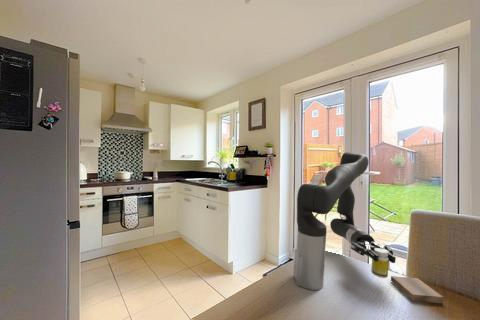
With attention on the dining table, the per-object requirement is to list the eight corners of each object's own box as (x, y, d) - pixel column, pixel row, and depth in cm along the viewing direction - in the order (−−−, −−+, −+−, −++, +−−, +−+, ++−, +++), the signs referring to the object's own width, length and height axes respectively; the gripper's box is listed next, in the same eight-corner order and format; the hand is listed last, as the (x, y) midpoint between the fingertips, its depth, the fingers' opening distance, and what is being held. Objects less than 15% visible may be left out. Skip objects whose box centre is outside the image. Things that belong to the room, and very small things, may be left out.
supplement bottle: (390, 279, 70) (392, 254, 70) (374, 277, 71) (376, 252, 71) (383, 272, 75) (385, 248, 74) (368, 269, 76) (370, 246, 75)
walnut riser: (412, 300, 65) (412, 294, 65) (390, 281, 75) (391, 276, 75) (442, 303, 65) (443, 297, 65) (417, 283, 75) (417, 278, 75)
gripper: (342, 228, 87) (364, 246, 70) (378, 231, 86) (409, 250, 69) (340, 246, 87) (362, 268, 70) (376, 250, 87) (407, 272, 70)
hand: (385, 259), depth 70 cm, fingers closed on supplement bottle, 4 cm apart
